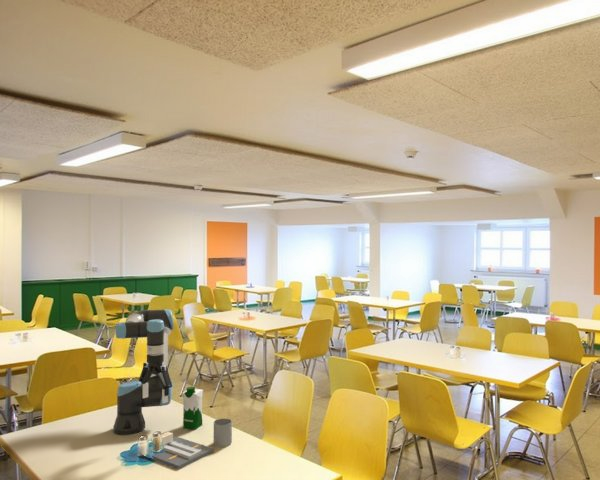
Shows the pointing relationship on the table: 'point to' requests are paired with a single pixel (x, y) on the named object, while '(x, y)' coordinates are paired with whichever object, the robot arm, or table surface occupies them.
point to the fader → (167, 438)
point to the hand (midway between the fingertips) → (155, 400)
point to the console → (182, 453)
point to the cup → (222, 432)
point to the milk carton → (192, 408)
